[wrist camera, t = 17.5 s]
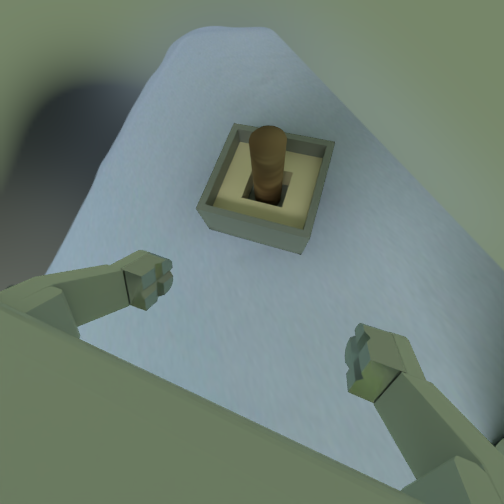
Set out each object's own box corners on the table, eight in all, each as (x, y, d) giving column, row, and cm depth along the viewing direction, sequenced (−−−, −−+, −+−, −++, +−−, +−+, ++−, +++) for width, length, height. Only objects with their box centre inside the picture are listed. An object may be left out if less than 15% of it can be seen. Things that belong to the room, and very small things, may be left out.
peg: (283, 189, 35) (291, 129, 24) (276, 211, 34) (280, 159, 23) (259, 184, 36) (255, 122, 25) (251, 205, 35) (243, 151, 23)
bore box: (323, 173, 37) (335, 141, 30) (301, 254, 33) (309, 238, 26) (239, 155, 39) (233, 123, 33) (209, 229, 35) (195, 208, 29)
